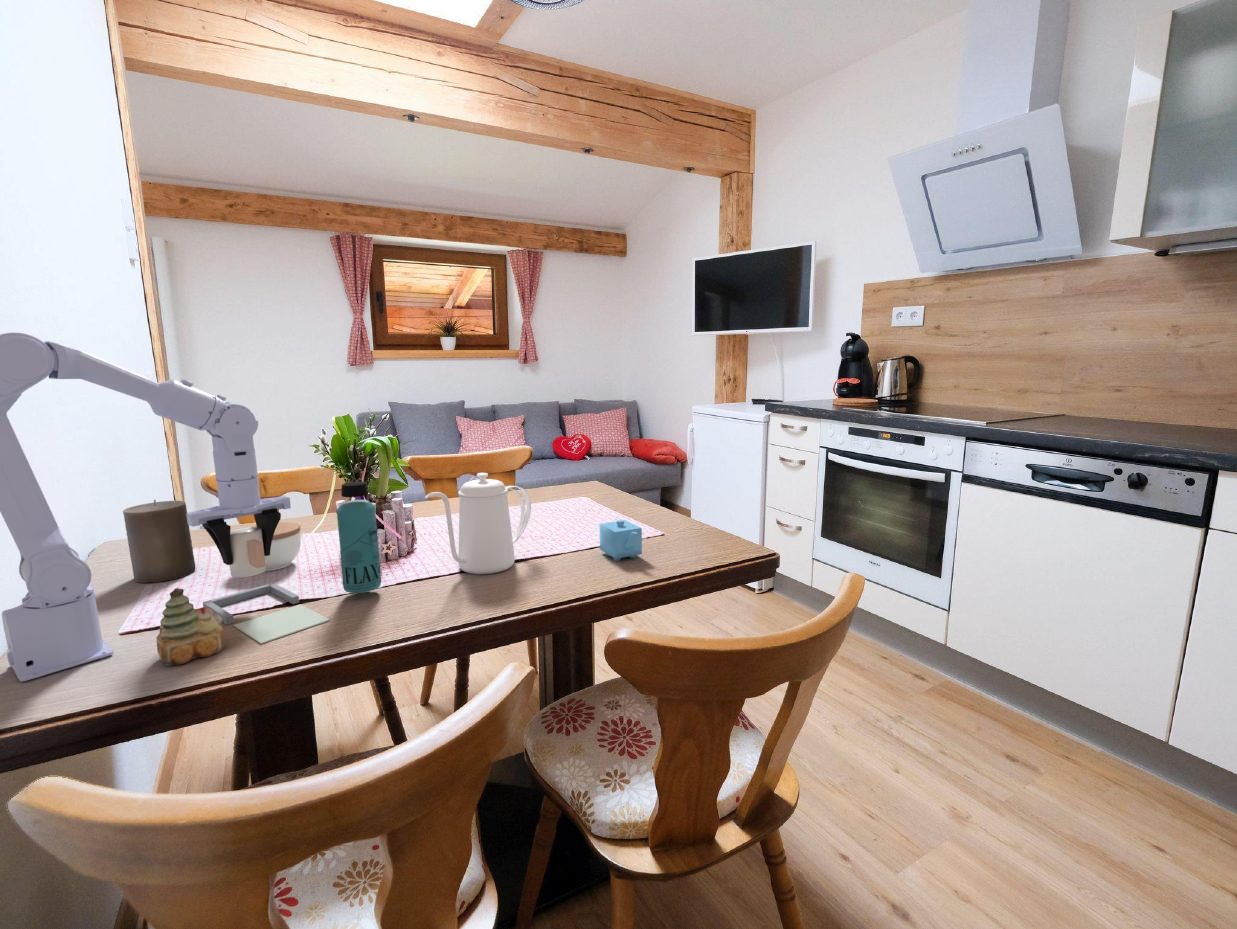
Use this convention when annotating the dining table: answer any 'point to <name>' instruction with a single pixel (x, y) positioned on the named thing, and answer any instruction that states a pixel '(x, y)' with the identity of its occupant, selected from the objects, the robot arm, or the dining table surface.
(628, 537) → the teapot
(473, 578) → the dining table surface
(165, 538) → the pillar candle
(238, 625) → the pad
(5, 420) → the robot arm
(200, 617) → the ornament
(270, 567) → the lidded jar
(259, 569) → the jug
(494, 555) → the coffeepot
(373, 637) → the dining table surface
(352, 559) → the beverage bottle
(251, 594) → the cradle
